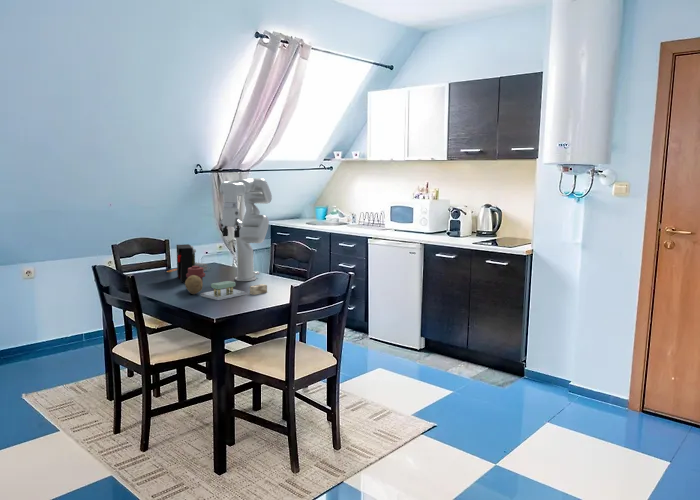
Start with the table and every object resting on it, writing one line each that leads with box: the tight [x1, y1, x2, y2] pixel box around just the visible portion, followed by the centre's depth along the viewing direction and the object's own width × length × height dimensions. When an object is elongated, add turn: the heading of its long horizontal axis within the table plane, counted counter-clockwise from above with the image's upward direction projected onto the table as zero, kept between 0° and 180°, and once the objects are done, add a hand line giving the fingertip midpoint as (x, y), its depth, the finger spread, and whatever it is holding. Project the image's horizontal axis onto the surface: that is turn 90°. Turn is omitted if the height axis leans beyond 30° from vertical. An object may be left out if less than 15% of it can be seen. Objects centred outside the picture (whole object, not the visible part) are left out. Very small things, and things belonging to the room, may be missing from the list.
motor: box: [166, 261, 212, 273], centre depth 350 cm, size 23×22×5 cm
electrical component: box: [176, 243, 197, 284], centre depth 322 cm, size 18×10×20 cm, turn 22°
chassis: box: [200, 286, 247, 301], centre depth 283 cm, size 18×14×4 cm
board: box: [210, 280, 236, 289], centre depth 283 cm, size 11×6×2 cm, turn 141°
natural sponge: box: [184, 275, 204, 295], centre depth 285 cm, size 9×9×10 cm
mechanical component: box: [186, 266, 206, 286], centre depth 299 cm, size 12×10×10 cm
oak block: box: [249, 283, 268, 296], centre depth 290 cm, size 9×4×4 cm, turn 141°
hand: (231, 236), depth 300 cm, fingers open, 9 cm apart
